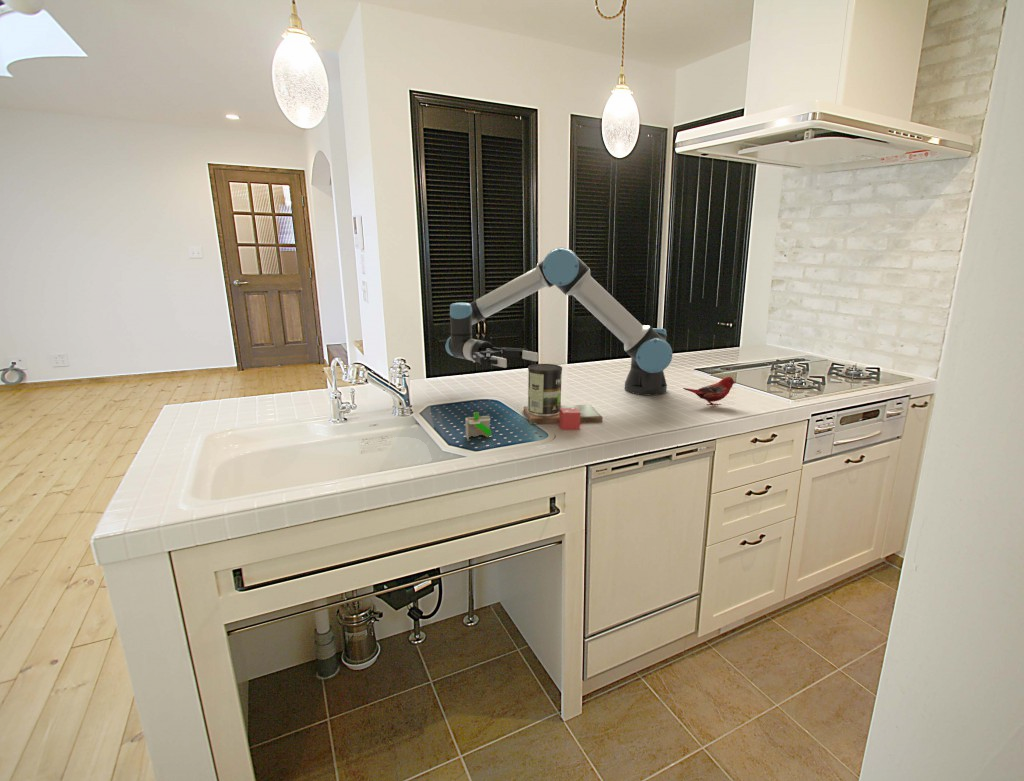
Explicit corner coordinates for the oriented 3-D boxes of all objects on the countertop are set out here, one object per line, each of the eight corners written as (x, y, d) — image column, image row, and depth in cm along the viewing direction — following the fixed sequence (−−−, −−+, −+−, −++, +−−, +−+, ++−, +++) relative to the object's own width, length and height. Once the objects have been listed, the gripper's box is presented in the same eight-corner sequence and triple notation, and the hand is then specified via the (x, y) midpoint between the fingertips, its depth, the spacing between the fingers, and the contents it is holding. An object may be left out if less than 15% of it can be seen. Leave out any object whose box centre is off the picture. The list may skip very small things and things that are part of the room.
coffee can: (562, 408, 166) (564, 364, 162) (558, 417, 156) (560, 371, 153) (530, 405, 168) (531, 362, 164) (524, 415, 158) (525, 369, 155)
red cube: (575, 423, 157) (576, 407, 155) (579, 429, 152) (580, 412, 151) (558, 424, 156) (559, 407, 155) (562, 429, 151) (563, 412, 150)
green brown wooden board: (590, 409, 171) (590, 404, 171) (602, 421, 159) (602, 416, 158) (523, 411, 168) (523, 406, 168) (530, 424, 156) (530, 418, 155)
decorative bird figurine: (735, 407, 175) (738, 377, 172) (682, 407, 174) (685, 378, 171) (731, 404, 178) (734, 375, 175) (679, 405, 177) (682, 376, 174)
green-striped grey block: (493, 440, 144) (493, 412, 141) (469, 443, 141) (468, 414, 139) (489, 435, 147) (489, 408, 145) (465, 438, 145) (465, 410, 143)
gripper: (506, 356, 190) (549, 365, 174) (449, 367, 173) (491, 378, 158) (506, 336, 188) (549, 343, 172) (449, 344, 171) (491, 353, 156)
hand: (522, 360), depth 165 cm, fingers open, 13 cm apart
